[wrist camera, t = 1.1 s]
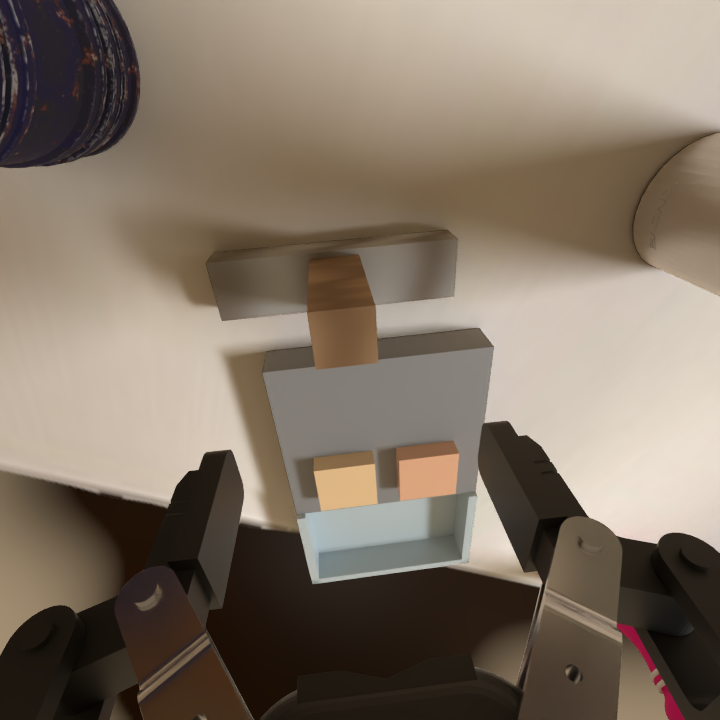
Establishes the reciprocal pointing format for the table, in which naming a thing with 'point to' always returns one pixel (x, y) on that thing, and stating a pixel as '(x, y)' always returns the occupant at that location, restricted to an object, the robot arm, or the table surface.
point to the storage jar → (64, 80)
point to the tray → (388, 537)
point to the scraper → (335, 286)
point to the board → (380, 407)
